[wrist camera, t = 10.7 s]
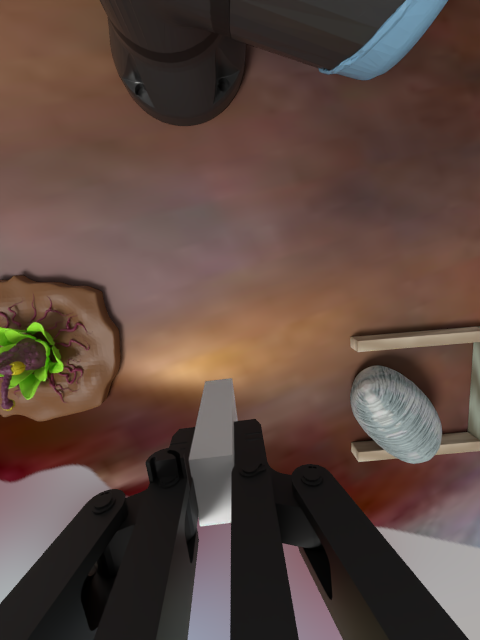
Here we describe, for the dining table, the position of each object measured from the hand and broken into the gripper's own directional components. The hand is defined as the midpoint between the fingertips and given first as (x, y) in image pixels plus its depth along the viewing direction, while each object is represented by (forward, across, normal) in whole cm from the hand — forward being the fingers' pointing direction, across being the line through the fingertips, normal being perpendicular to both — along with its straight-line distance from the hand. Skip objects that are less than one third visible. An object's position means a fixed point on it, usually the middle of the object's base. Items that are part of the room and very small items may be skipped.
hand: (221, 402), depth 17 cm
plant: (+25, -25, -1) cm, 36 cm away
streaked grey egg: (+25, +21, -15) cm, 36 cm away
